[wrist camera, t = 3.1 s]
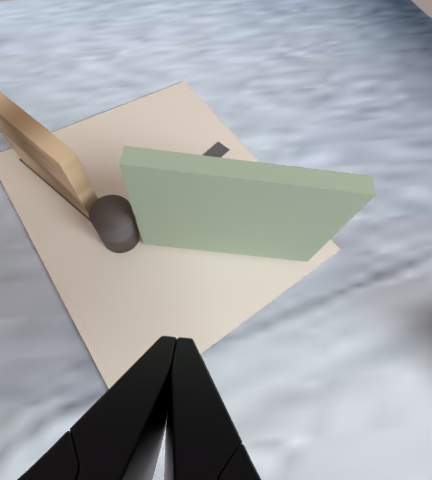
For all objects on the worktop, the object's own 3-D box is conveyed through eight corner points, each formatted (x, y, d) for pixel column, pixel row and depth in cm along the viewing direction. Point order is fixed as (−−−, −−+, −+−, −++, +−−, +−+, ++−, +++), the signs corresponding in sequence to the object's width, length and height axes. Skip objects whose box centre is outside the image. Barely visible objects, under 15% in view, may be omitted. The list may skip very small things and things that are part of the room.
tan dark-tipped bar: (147, 235, 20) (133, 181, 15) (120, 260, 19) (95, 212, 14) (42, 148, 22) (-3, 74, 17) (14, 167, 22) (-43, 95, 16)
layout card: (122, 412, 16) (120, 413, 16) (-10, 159, 22) (-13, 156, 22) (338, 251, 21) (340, 249, 21) (185, 83, 27) (185, 80, 27)
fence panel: (143, 244, 20) (119, 164, 12) (146, 230, 20) (124, 145, 13) (307, 261, 20) (375, 194, 13) (306, 248, 21) (372, 176, 13)
